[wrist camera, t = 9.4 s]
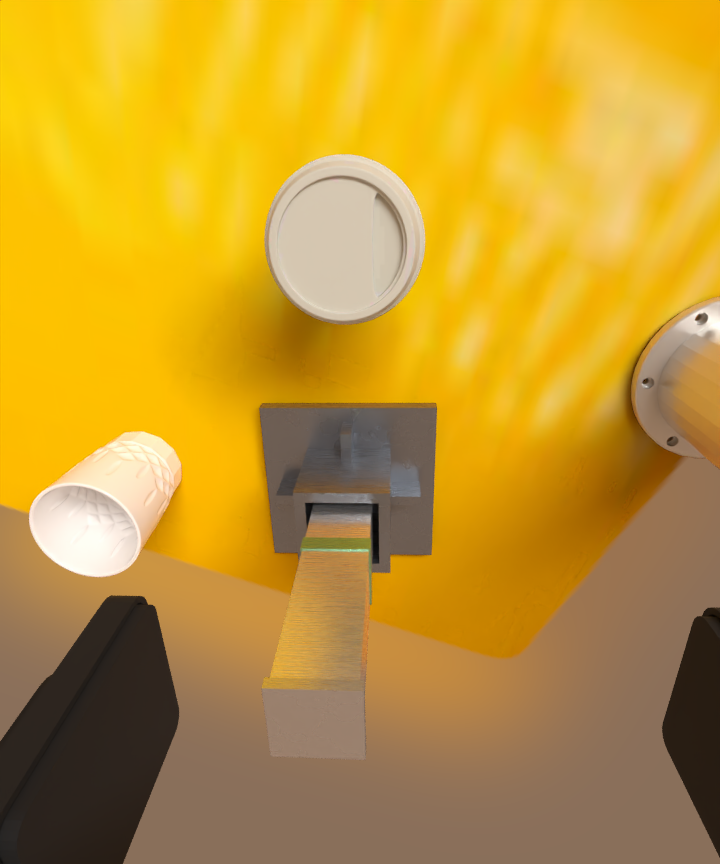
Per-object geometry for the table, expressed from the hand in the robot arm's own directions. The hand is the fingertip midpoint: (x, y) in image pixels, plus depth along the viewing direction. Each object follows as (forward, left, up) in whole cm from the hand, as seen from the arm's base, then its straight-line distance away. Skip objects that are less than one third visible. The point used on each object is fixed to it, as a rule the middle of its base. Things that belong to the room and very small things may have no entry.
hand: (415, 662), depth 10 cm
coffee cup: (+3, -5, -34) cm, 34 cm away
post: (+4, +15, -26) cm, 30 cm away
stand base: (+4, +15, -33) cm, 37 cm away
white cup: (+22, +14, -34) cm, 42 cm away
